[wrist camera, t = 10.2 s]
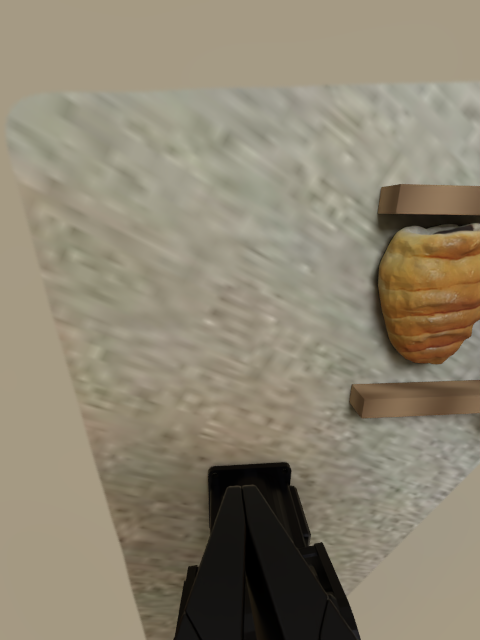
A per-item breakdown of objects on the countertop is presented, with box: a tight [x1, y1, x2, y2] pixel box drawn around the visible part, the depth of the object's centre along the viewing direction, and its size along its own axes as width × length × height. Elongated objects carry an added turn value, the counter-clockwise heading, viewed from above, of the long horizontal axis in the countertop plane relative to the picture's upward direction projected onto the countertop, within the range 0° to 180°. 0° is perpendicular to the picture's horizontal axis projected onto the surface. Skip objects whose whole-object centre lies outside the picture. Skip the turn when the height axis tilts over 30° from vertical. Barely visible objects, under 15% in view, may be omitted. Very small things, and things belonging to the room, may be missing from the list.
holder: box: [349, 184, 480, 418], centre depth 19 cm, size 12×15×5 cm
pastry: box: [378, 223, 480, 364], centre depth 20 cm, size 9×7×4 cm
